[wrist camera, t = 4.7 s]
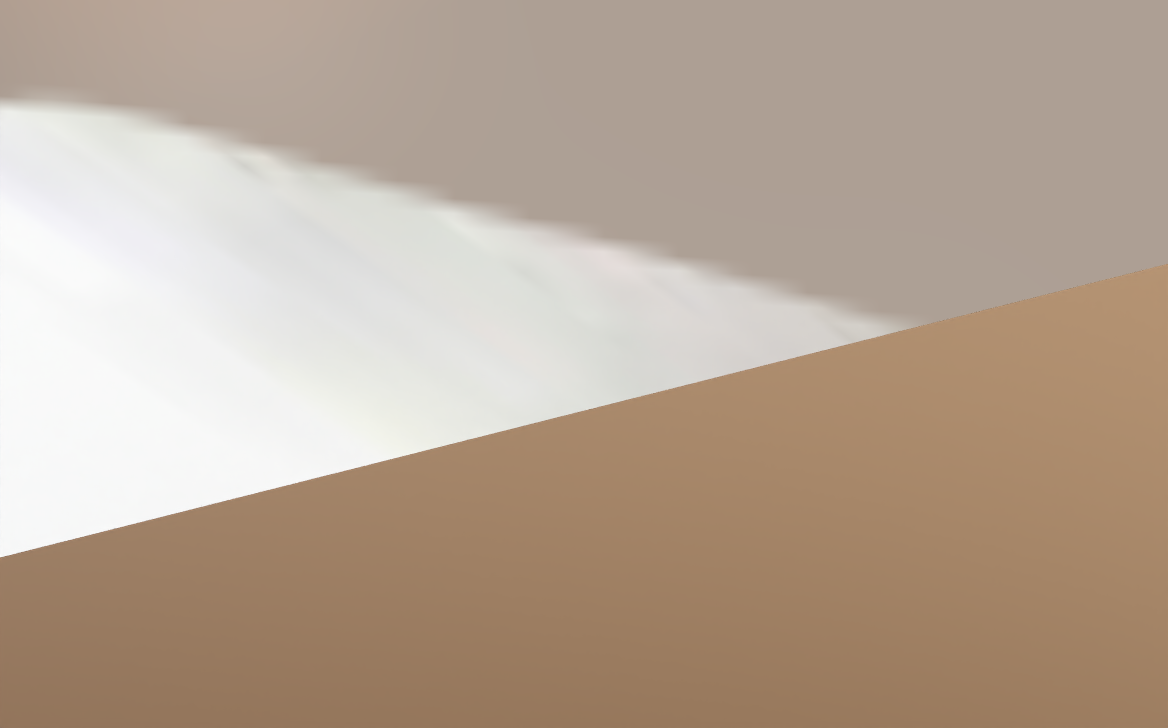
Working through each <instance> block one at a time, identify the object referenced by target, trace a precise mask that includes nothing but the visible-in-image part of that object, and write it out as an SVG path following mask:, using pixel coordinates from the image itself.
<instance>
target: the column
mask: <svg viewBox="0 0 1168 728" xmlns="http://www.w3.org/2000/svg"><path fill="white" fill-rule="evenodd" d="M0 728H1168V264H1166V265H1162V266H1158V267H1154V268H1150V269H1146V270H1142V271H1138V272H1134V273H1130V274H1126V275H1122V276H1118V277H1114V278H1110V279H1106V280H1102V281H1098V282H1094V283H1090V284H1086V285H1082V286H1078V287H1075V288H1070V289H1067V290H1063V291H1058V292H1055V293H1051V294H1047V295H1043V296H1039V297H1035V298H1031V299H1027V300H1023V301H1019V302H1015V303H1011V304H1007V305H1003V306H999V307H995V308H991V309H987V310H983V311H979V312H975V313H971V314H967V315H963V316H959V317H955V318H951V319H947V320H943V321H939V322H935V323H931V324H927V325H923V326H919V327H915V328H911V329H907V330H903V331H899V332H895V333H891V334H887V335H884V336H880V337H876V338H872V339H868V340H864V341H860V342H856V343H852V344H848V345H844V346H840V347H836V348H832V349H828V350H824V351H820V352H816V353H812V354H808V355H804V356H800V357H796V358H792V359H788V360H784V361H780V362H776V363H772V364H768V365H764V366H760V367H756V368H752V369H748V370H744V371H740V372H736V373H732V374H728V375H724V376H720V377H717V378H713V379H709V380H705V381H701V382H697V383H693V384H689V385H685V386H681V387H677V388H673V389H669V390H665V391H661V392H657V393H653V394H649V395H645V396H641V397H637V398H633V399H629V400H625V401H621V402H617V403H613V404H609V405H605V406H601V407H597V408H593V409H589V410H585V411H581V412H577V413H573V414H569V415H565V416H561V417H557V418H553V419H550V420H546V421H542V422H538V423H534V424H530V425H526V426H522V427H518V428H514V429H510V430H506V431H502V432H498V433H494V434H490V435H486V436H482V437H478V438H474V439H470V440H466V441H462V442H458V443H454V444H450V445H446V446H442V447H438V448H434V449H430V450H426V451H422V452H418V453H414V454H410V455H406V456H402V457H398V458H394V459H390V460H387V461H383V462H379V463H375V464H371V465H367V466H363V467H359V468H355V469H351V470H347V471H343V472H339V473H335V474H331V475H327V476H323V477H319V478H315V479H311V480H307V481H303V482H299V483H295V484H291V485H287V486H283V487H279V488H275V489H271V490H267V491H263V492H259V493H255V494H251V495H247V496H243V497H239V498H235V499H231V500H227V501H223V502H220V503H216V504H212V505H208V506H204V507H200V508H196V509H192V510H188V511H184V512H180V513H176V514H172V515H168V516H164V517H160V518H156V519H152V520H148V521H144V522H140V523H136V524H132V525H128V526H124V527H120V528H116V529H112V530H108V531H104V532H100V533H96V534H92V535H88V536H84V537H80V538H76V539H72V540H68V541H64V542H60V543H56V544H53V545H49V546H45V547H41V548H37V549H33V550H29V551H25V552H21V553H17V554H13V555H9V556H5V557H1V558H0Z"/></svg>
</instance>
